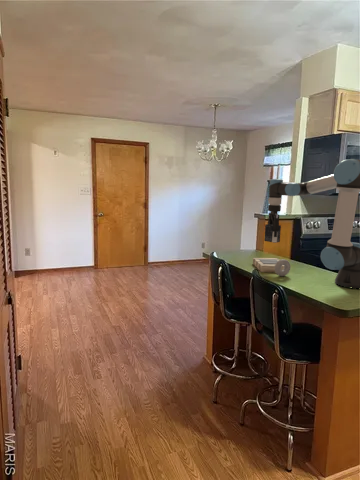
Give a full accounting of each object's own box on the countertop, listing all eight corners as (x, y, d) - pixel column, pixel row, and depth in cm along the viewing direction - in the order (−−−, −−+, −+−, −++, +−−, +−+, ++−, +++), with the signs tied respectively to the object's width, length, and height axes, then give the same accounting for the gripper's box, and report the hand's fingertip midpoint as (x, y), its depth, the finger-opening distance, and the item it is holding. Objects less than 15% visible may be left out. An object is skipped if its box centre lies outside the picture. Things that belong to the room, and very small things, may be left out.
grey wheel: (287, 274, 191) (288, 258, 189) (291, 276, 188) (292, 259, 186) (272, 275, 188) (274, 259, 186) (276, 277, 185) (277, 260, 183)
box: (279, 242, 202) (281, 225, 200) (274, 243, 198) (275, 225, 197) (269, 240, 208) (270, 223, 206) (263, 241, 204) (265, 224, 203)
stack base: (287, 272, 196) (287, 265, 195) (261, 272, 195) (261, 265, 195) (276, 264, 216) (277, 257, 215) (252, 263, 215) (253, 257, 214)
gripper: (263, 203, 210) (261, 237, 214) (273, 205, 188) (271, 243, 192) (275, 203, 210) (272, 237, 214) (286, 206, 188) (283, 244, 192)
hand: (272, 240), depth 203 cm, fingers closed on box, 9 cm apart
